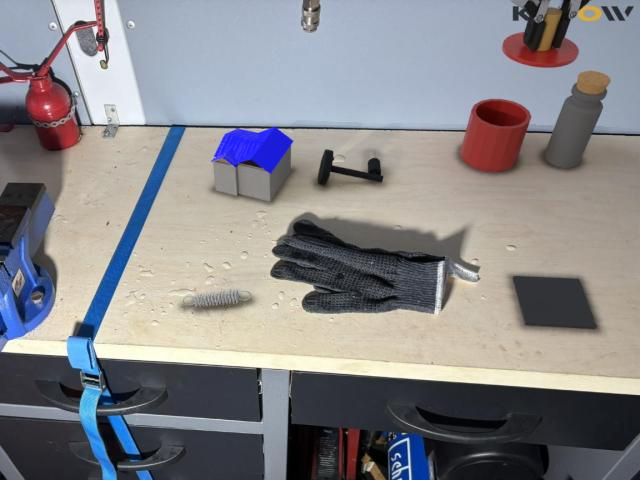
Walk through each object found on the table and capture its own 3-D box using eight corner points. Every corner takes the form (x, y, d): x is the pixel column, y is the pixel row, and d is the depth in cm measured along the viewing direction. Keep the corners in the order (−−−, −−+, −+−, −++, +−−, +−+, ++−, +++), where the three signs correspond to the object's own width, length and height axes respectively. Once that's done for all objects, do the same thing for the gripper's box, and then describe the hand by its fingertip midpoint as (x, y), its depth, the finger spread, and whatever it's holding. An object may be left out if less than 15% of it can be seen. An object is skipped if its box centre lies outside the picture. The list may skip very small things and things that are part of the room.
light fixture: (374, 161, 111) (377, 203, 103) (318, 149, 111) (317, 191, 102) (385, 133, 107) (389, 174, 98) (327, 121, 107) (326, 162, 98)
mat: (578, 280, 86) (579, 278, 86) (595, 328, 80) (597, 327, 80) (512, 277, 87) (513, 275, 87) (525, 325, 81) (526, 323, 81)
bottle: (536, 154, 107) (566, 74, 96) (561, 145, 108) (594, 65, 97) (561, 171, 103) (595, 90, 92) (587, 162, 105) (623, 81, 94)
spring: (183, 311, 86) (181, 301, 84) (183, 300, 87) (181, 291, 86) (251, 305, 86) (251, 295, 84) (250, 294, 87) (250, 285, 86)
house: (213, 191, 104) (209, 151, 98) (239, 157, 110) (237, 118, 105) (269, 205, 101) (269, 165, 95) (293, 169, 107) (294, 130, 101)
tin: (510, 142, 110) (524, 99, 104) (520, 172, 104) (536, 129, 97) (457, 140, 111) (468, 98, 105) (464, 171, 105) (476, 127, 98)
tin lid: (566, 39, 90) (582, -4, 85) (584, 72, 83) (601, 27, 79) (495, 38, 91) (506, -4, 87) (506, 71, 84) (519, 27, 80)
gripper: (636, -120, 75) (581, 28, 89) (511, -108, 75) (475, 40, 88) (673, -103, 70) (609, 51, 84) (539, -90, 69) (497, 64, 83)
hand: (541, 44), depth 86 cm, fingers closed on tin lid, 2 cm apart
